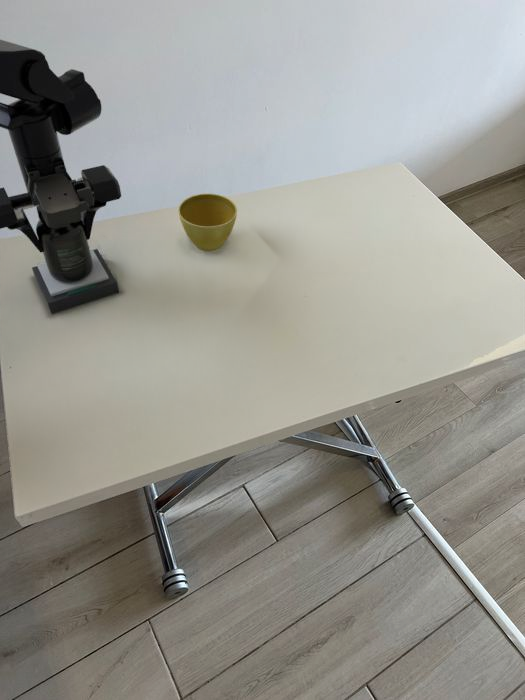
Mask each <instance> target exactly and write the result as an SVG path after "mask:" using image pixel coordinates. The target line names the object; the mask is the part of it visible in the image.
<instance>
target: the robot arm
mask: <svg viewBox="0 0 525 700" xmlns="http://www.w3.org/2000/svg"><path fill="white" fill-rule="evenodd" d="M85 77H86V76H85V73H84V72H83V71H80V70H76V69H73V68H71V69H68V70H67V71H65V72H64V73H63V74H62V75H60V76H57V74H56V73H55V72H53V70H52V69H51V68H50V65H49V62H48V60H47V58H46V55H45V54H44V53H43V52H42V51H39V50H37V49H35V48H31V47H27V46H24V45H21V44H18V43H14V42H11V41H7V40H3V39H0V94H1V95H4V96H8V97H11V98H14V99H17V100H15V101H13V102H11V103H8V104H7V103H3V102H0V128H1V129H4V130H7V132H8V134H9V137H10V141H11V144H12V147H13V150H14V154H15V157H16V159H17V164H18V166H19V170H20V172H21V176H22V179H23V183H24V186H25V189H26V191H27V192H25V193H20V194H19V193H18V194H16V195H11V196H9V195H8V193H7V191H6V189H5V187H0V230H1V229H4V228H7V229H8V230H11V231H12V230H13V231H14V230H18V231H20V232H21V233H23V234H24V235H25V236H26V237H27V238H28V239H29V241H30V242H31V243H32V244H33V246H34V247H35V248H36V249H37V250H38V251H39V253H43V250H42V246H41V244H40V242H39V239H38V236H37V233H36V231H35V230H34V228H33V226H32V224H31V222H30V220H29V218H28V216H27V214H26V212H25V210H28V209H32V208H37V206H39V208H40V210H41V213H42V215H43V217H44V219H45V222H46V224H47V225H48V226H49V227H51V228H56V227H60V226H61V225H64V224H68V223H72V222H73V223H76V222H79V221H80V220H82V222H83V224H84V228H85V232H86V237H87V241H89V240H90V239H91V233H92V229H93V223H94V219H95V216H96V213H97V211H99V209H101V208H104V207H106V206H107V203H108V202H113V201H117V200H120V198H122V190H121V185H120V183H119V181H118V179H117V178H116V176H115V175H114V174H113V173H112V171H111V170H110V168H109V167H108V166H106V165H104V164H102V165H98V166H93V167H89V168H84V169H81V172H80V174H81V177H78V178H77V179H72V177H71V176H70V174H69V173H68V171H67V167H66V165H65V161H64V157H63V152H62V148H61V144H60V140H59V136H58V133H59V134H61V135H63V136H69V135H72V134H74V132H77V131H78V130H80V129H82V128H83V127H85V126H87V125H89V124H90V123H92V122H95V121H96V120H97V119H98V118H99V117H100V116H101V114H102V101H101V99H100V98H99V97H98V94H97V93H96V90H95V89H94V88H93V87H92V86H91V84H89V83H88V82H87V81H86V78H85Z"/></svg>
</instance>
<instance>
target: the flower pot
mask: <svg viewBox="0 0 525 700" xmlns="http://www.w3.org/2000/svg"><path fill="white" fill-rule="evenodd" d="M237 215H238V208H237V205H236V204H235V202H234V201H232V200H231V199H230V198H228V197H226V196H224V195H220V194H216V193H199V194H195V195H194V194H193V195H191V196H189V197H187V198H185V199H184V200H183V201H182V202H181V203H180V204H179V206H178V217H179V220H180V223H181V225H182V228H183V230H184V233H185V234H186V236H187V238H188V239H189V240H190V241H191V243H192V244H193V245H194V247H196V248H197V249H198V250H200V251H202V252H203V251H204V252H215V251H217V250H219V249H221V248H222V247H223V245H224V244H225V243H226V241H227V240H228V239H229V237H230V235H231V234H232V232H233V229H234V226H235V224H236V219H237Z"/></svg>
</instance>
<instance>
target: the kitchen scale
mask: <svg viewBox="0 0 525 700" xmlns="http://www.w3.org/2000/svg"><path fill="white" fill-rule="evenodd" d="M89 249H90V253H91V258H92V262H93V269H92V271H91V273H90V274H89V275H88V276H87V277H86V278H84V279H82V280H80V281H76V282H70V283H66V282H60V281H58V280H56V279H54V278H53V277H52V276H51V275H50V273H49V270H48V267H47V264H46V261H44V262H40V263H37V264H36V266H33V267H31V269H32V273H33V275H34V276H33V277H34V278H35V281H36V282H37V283H36V284H37V285H38V288H39V289H40V292H41V294H42V297H43V298H44V301H45V303H46V305H47V307H48V309H49V312H50V314H51V315H54V314H58V313H60V312H63V311H67V310H69V309H73V308H76V307H80V306H82V305H86V304H88V303H92V302H95V301H98V300H100V299H105V298H107V297H110V296H113V295H117V294H119V293H120V290H119V285H118V281H117V279H116V278H115V276H114V274H113V273H112V270H110V269H111V268H109V266H108V265H107V263H106V261H105V259H104V257H103V256H102V254H101V253H100V251H99V249H98V248H95V249H93V248H89Z"/></svg>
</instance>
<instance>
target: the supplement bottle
mask: <svg viewBox="0 0 525 700" xmlns="http://www.w3.org/2000/svg"><path fill="white" fill-rule="evenodd" d="M36 212H37V216H38V221H37V222H36V226H35V234H36V236H37V238H38V240H39V242H40V244H41V246H42V250H43V252H42V254H43V258H44V262H46V264H47V267H48V270H49V273H50V275H51V276H52V277H53V278H54V279H56V280H58V281H60V282H66V283H70V282H76V281H80V280H82V279H84V278H86V277H87V276H88V275H89V274H90V273H91V271H92V269H93V262H92V258H91V253H90V249H91V248H90V245H89V242H88V241H89V240H87V237H86V232H85V228H84V224H83V222H82V220H80V221H79V222H76V223H73V222H72V223H68V224H64V225H61V226H60V227H56V228H51V227H49V226H48V225H47V224H46V222H45V219H44V217H43V215H42V213H41V210H40V208H39V206H36Z"/></svg>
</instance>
